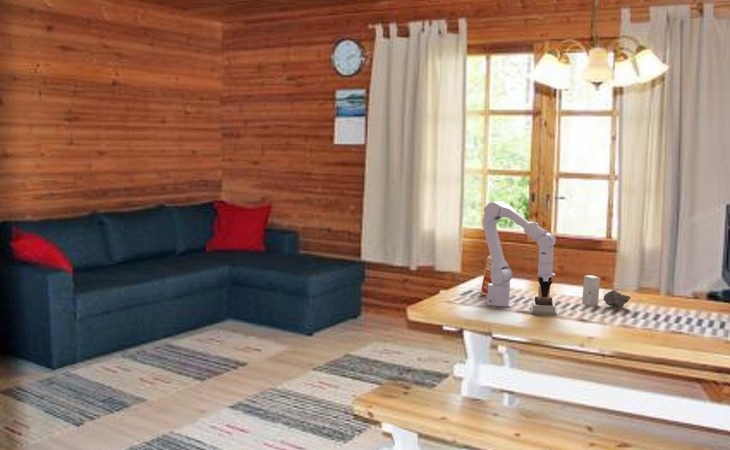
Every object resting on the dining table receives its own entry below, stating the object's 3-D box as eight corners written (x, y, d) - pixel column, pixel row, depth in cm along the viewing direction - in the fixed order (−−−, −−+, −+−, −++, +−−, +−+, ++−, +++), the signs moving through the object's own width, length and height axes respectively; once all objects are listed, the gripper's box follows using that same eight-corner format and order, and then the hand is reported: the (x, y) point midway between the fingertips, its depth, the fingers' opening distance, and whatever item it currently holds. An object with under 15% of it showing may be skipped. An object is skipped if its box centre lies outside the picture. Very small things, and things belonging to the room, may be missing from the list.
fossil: (631, 307, 299) (633, 289, 298) (628, 312, 291) (629, 293, 290) (604, 304, 304) (605, 286, 303) (600, 308, 297) (601, 289, 296)
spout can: (538, 301, 287) (539, 286, 286) (536, 299, 292) (537, 283, 291) (550, 302, 287) (551, 286, 286) (548, 299, 291) (549, 284, 291)
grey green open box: (531, 313, 285) (531, 301, 285) (530, 307, 296) (531, 295, 296) (556, 315, 283) (557, 303, 283) (555, 309, 294) (555, 297, 294)
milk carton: (480, 293, 323) (481, 250, 320) (497, 291, 327) (498, 249, 324) (491, 297, 315) (493, 253, 312) (508, 295, 318) (510, 252, 316)
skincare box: (581, 302, 307) (583, 275, 305) (590, 302, 308) (591, 274, 307) (590, 305, 301) (591, 278, 300) (599, 305, 302) (600, 277, 301)
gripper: (556, 266, 280) (555, 299, 281) (554, 260, 294) (553, 292, 295) (538, 265, 281) (537, 298, 283) (537, 259, 295) (536, 291, 297)
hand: (544, 295), depth 289 cm, fingers closed on spout can, 5 cm apart
